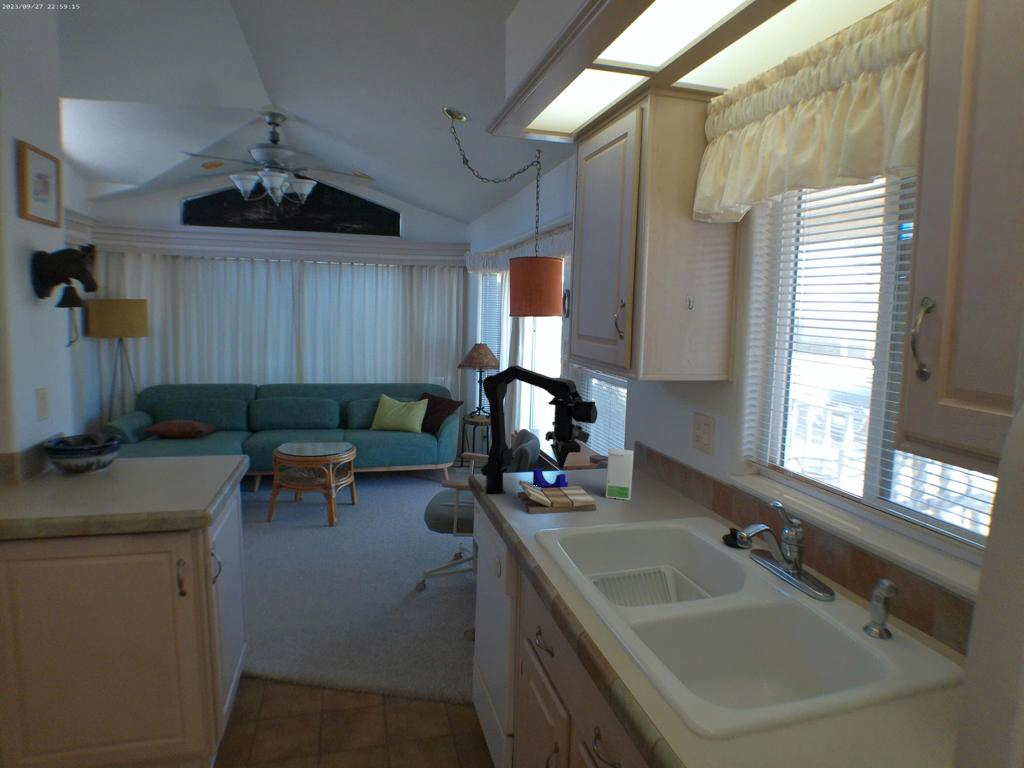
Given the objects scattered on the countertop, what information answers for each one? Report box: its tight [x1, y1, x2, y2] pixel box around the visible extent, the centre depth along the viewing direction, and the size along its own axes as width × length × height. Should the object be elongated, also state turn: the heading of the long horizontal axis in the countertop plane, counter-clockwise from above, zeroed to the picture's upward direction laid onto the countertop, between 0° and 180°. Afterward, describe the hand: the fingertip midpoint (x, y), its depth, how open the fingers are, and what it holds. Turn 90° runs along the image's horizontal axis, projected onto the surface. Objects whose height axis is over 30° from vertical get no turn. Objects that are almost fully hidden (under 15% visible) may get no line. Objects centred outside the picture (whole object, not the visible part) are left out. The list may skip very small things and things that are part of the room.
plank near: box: [518, 480, 551, 507], centre depth 191 cm, size 16×7×1 cm, turn 11°
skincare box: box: [605, 447, 634, 501], centre depth 200 cm, size 8×7×16 cm
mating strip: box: [539, 487, 572, 507], centre depth 193 cm, size 16×6×1 cm, turn 11°
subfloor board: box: [516, 491, 597, 515], centre depth 193 cm, size 18×21×2 cm
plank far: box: [559, 485, 596, 506], centre depth 194 cm, size 16×7×1 cm, turn 11°
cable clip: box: [532, 467, 569, 488], centre depth 210 cm, size 12×4×6 cm, turn 47°
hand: (561, 468), depth 192 cm, fingers closed
